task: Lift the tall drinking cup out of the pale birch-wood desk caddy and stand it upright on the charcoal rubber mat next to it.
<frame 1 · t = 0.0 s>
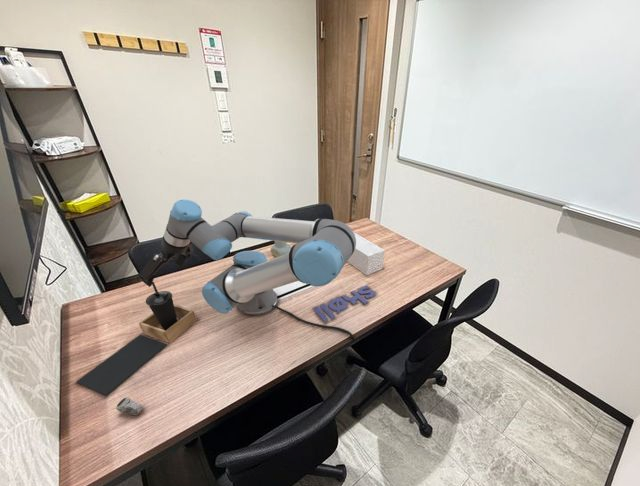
hand: (164, 274, 104), 15 cm above the table, tool tilted 35°, fingers open, 13 cm apart
caddy: (171, 326, 103), on the table
air freshener: (281, 255, 150), on the table
mat: (125, 362, 89), on the table
grey stone: (132, 412, 76), on the table
white rectangular block: (354, 258, 151), on the table
drinking cup: (171, 327, 103), resting in caddy
signage: (347, 303, 119), on the table
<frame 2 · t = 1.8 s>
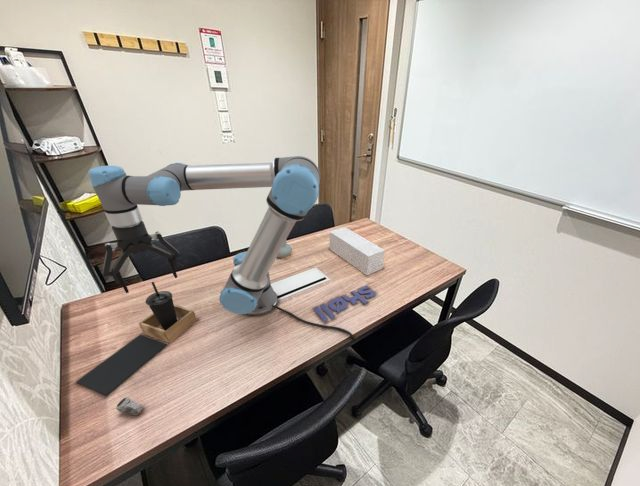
hand: (152, 283, 92), 20 cm above the table, tool pointing down, fingers open, 13 cm apart
nothing on the table moved.
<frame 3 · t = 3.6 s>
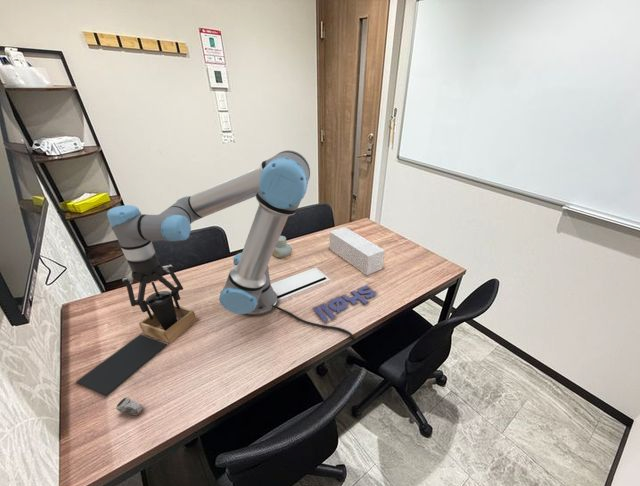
hand: (165, 312, 99), 7 cm above the table, tool pointing down, fingers closed on drinking cup, 8 cm apart
drinking cup: (171, 327, 103), resting in caddy, touching gripper
everything else where it was.
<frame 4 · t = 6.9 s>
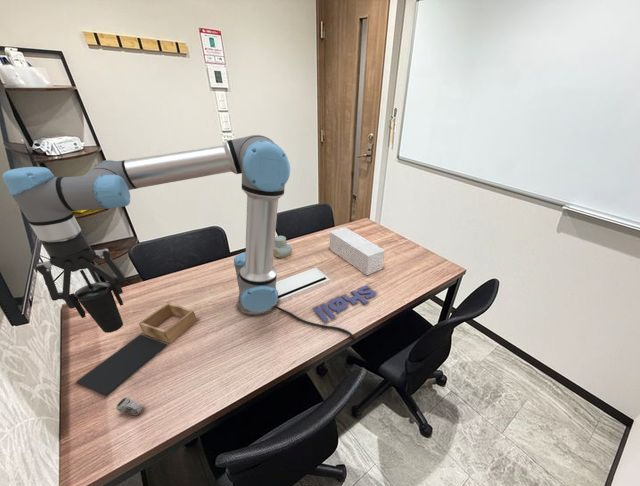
hand: (102, 308, 80), 21 cm above the table, tool pointing down, fingers closed on drinking cup, 8 cm apart
drinking cup: (113, 327, 84), point 14 cm above the table, touching gripper
everything else where it was.
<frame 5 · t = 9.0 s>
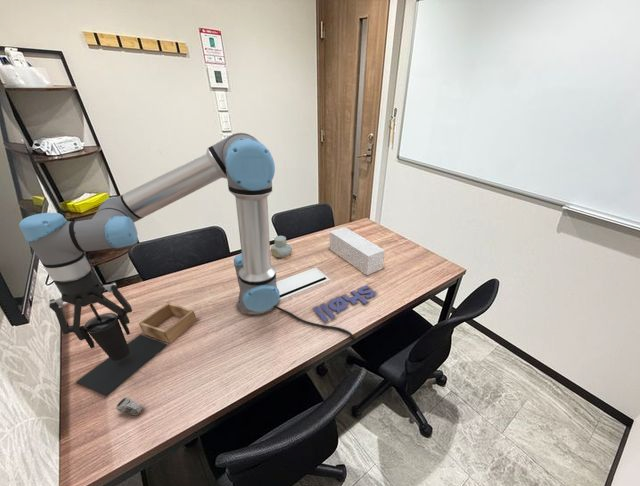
hand: (110, 338, 83), 11 cm above the table, tool pointing down, fingers closed on drinking cup, 8 cm apart
drinking cup: (120, 354, 87), point 4 cm above the table, touching gripper
everything else where it was.
when the fingers open (8 cm above the table, at t = 10.3 s): drinking cup stays where it is, resting on mat.
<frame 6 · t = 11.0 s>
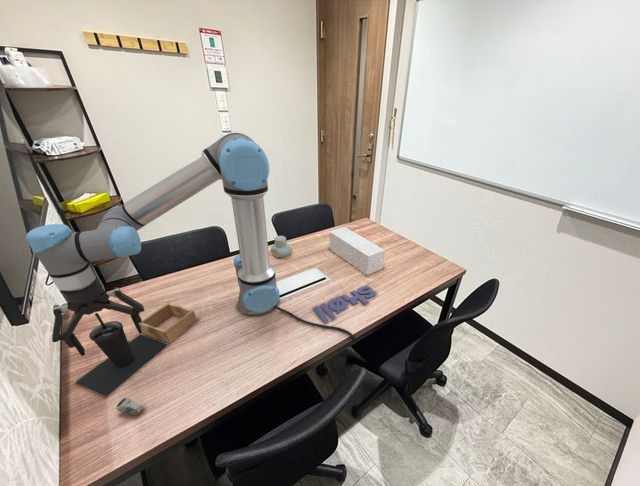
hand: (113, 341, 84), 10 cm above the table, tool pointing down, fingers open, 13 cm apart
drinking cup: (125, 361, 89), resting on mat
everything else where it was.
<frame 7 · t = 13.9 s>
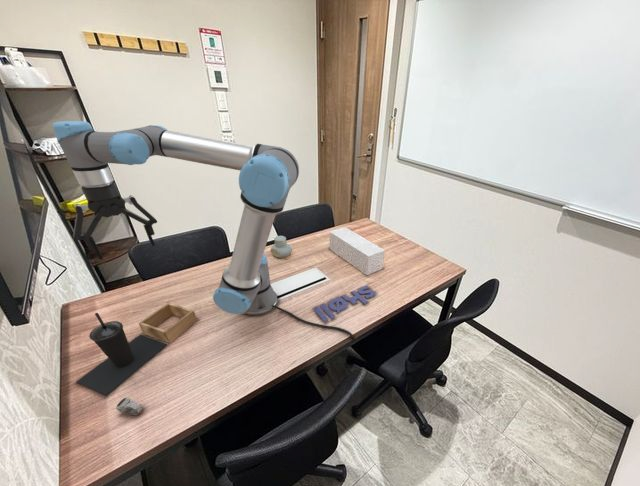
hand: (128, 250, 90), 30 cm above the table, tool pointing down, fingers open, 13 cm apart
nothing on the table moved.
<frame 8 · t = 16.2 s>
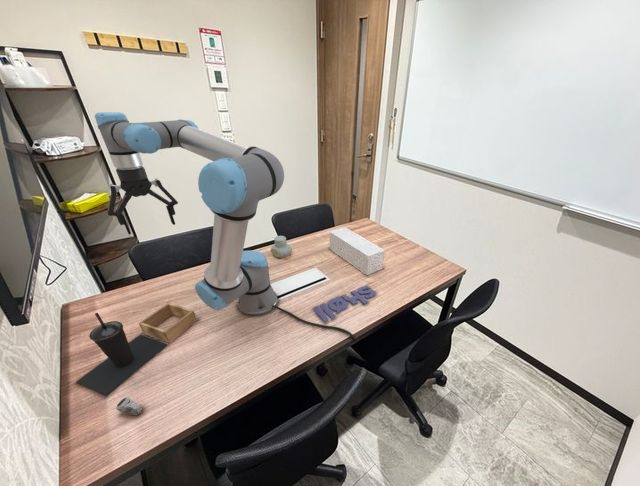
hand: (152, 227, 102), 31 cm above the table, tool pointing down, fingers open, 13 cm apart
nothing on the table moved.
at the end: drinking cup inside the target area on the mat (0.0 cm from its centre), point 0.4 cm above the mat's base; drinking cup tilted 0°; the gripper is holding nothing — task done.
